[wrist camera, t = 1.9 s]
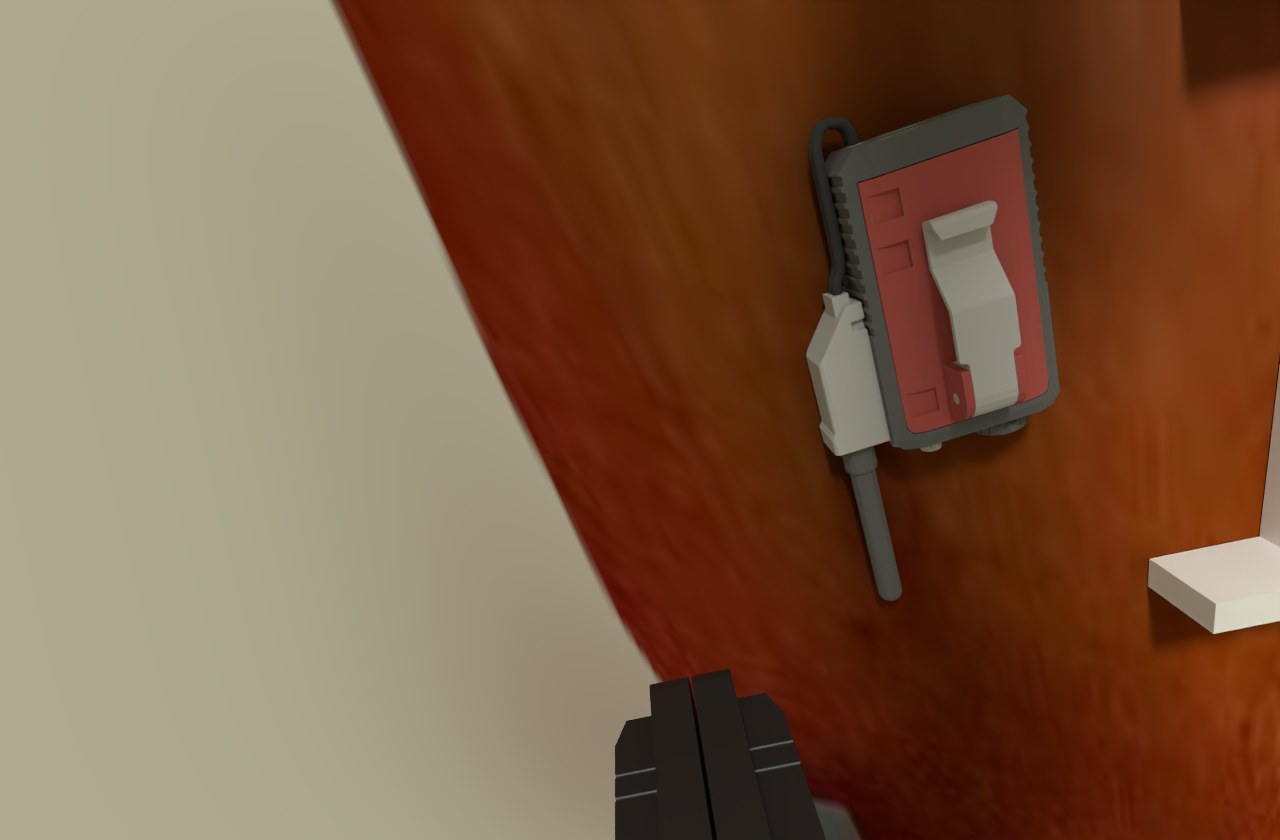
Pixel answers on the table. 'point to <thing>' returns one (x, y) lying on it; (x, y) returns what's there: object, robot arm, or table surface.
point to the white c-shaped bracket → (1230, 566)
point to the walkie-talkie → (928, 294)
